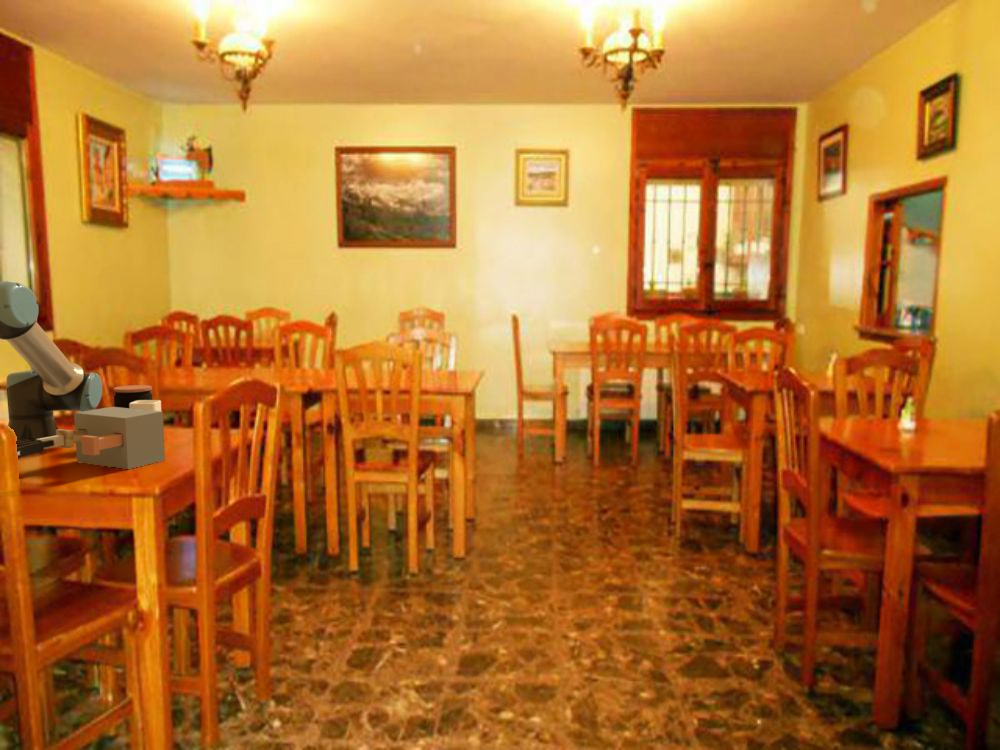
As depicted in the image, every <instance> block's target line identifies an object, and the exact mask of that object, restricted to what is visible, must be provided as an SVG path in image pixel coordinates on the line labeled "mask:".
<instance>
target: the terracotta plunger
mask: <svg viewBox="0 0 1000 750" xmlns="http://www.w3.org/2000/svg"><path fill="white" fill-rule="evenodd" d="M81 445H82V454H87V455H99V454H100V452H99V450H102V449H107V448H111V447H116V446H121V445H123V434H120V433H117V434H112V435H107V436H101V437H97V436H88V435H85V436H81Z"/></svg>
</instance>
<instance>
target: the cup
mask: <svg viewBox="0 0 1000 750" xmlns="http://www.w3.org/2000/svg"><path fill="white" fill-rule="evenodd" d="M129 408H131V409H141V410H152V411H162V401H161V400H160V399H152V400H138V401H134V402H131V403H129Z"/></svg>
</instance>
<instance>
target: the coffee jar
mask: <svg viewBox="0 0 1000 750" xmlns="http://www.w3.org/2000/svg"><path fill="white" fill-rule="evenodd" d="M152 389H153V386H152V385H147V384H145V385H144V384H139V385H138V384H134V385H133V384H132V385H122V386H116V387H114V388H113V392H114V393H115V394H114V395H113V407H120V408H129V403H131V402H134V401H138V400H153V394H152V393H151V392H152Z"/></svg>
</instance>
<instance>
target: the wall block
mask: <svg viewBox="0 0 1000 750" xmlns="http://www.w3.org/2000/svg"><path fill="white" fill-rule="evenodd" d="M163 412H164V411H162V410H161V411H152V410H141V409H131V408H120V407H114V406H109V407H103V408H95V409H93V410H89V411H75V412H74V413H73V419H74V421H73V422H74V431H75V430H80V429H86V430H87V435H88V436H97V437H101V436H107V435H112V434H117V433H120V434H123V445H121V446H116V447H111V448H107V449H102V450H99V452H100V454H99V455H87V454H82V445H81V442H77V443H75V453H76V463H77V462H81V463H80V464H83V463H89V464H88V465H90V464H95V465H94V466H97V465H101V466H100V467H104V466H108V467H107V468H111V467H116V468H115V469H118V468H123V469H122V470H125V469H130V470H132V468H134V469H137V468H136V467H138V468H141V467H140V466H142V467H145V466H144V465H146V466H149V465H148V464H150V465H153V464H152V463H154V464H157V463H156V462H158V463H161V461H162V462H164V461H166V455H165V454H166V453H165V434H164V432H165V430H164V413H163Z"/></svg>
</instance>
